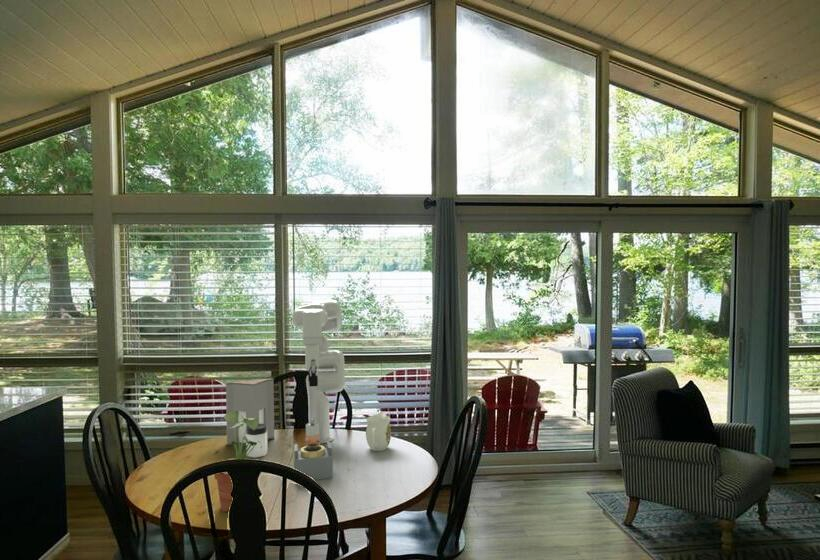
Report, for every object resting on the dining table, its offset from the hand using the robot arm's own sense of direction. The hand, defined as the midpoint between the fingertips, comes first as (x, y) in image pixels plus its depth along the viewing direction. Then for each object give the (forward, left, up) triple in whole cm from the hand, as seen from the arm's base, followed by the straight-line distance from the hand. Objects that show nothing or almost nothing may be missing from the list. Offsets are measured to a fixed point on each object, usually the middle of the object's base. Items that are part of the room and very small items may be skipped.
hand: (312, 383), depth 208 cm
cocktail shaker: (+12, -1, -24) cm, 27 cm away
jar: (-18, -23, -32) cm, 44 cm away
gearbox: (+12, -1, -32) cm, 34 cm away
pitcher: (-10, +28, -32) cm, 44 cm away
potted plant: (+32, -26, -32) cm, 52 cm away
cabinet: (-33, -26, -32) cm, 53 cm away
